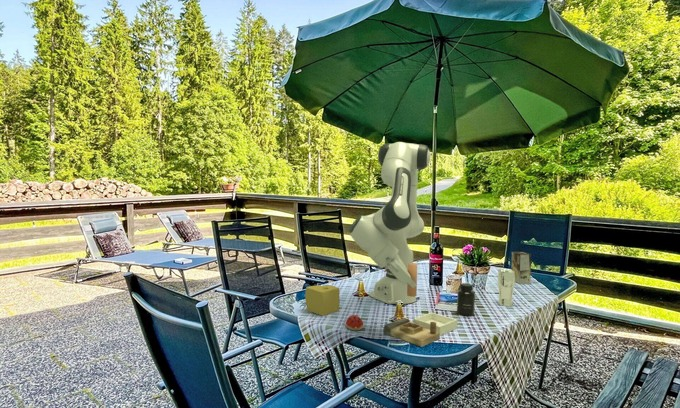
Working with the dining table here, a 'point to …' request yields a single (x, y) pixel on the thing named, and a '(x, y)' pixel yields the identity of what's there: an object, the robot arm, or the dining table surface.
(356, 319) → the red domed piece
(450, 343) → the dining table surface
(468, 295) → the supplement bottle
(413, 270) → the dowel
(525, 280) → the coffee box
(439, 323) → the tray
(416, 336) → the bench plate
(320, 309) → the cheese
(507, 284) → the beige tall block
